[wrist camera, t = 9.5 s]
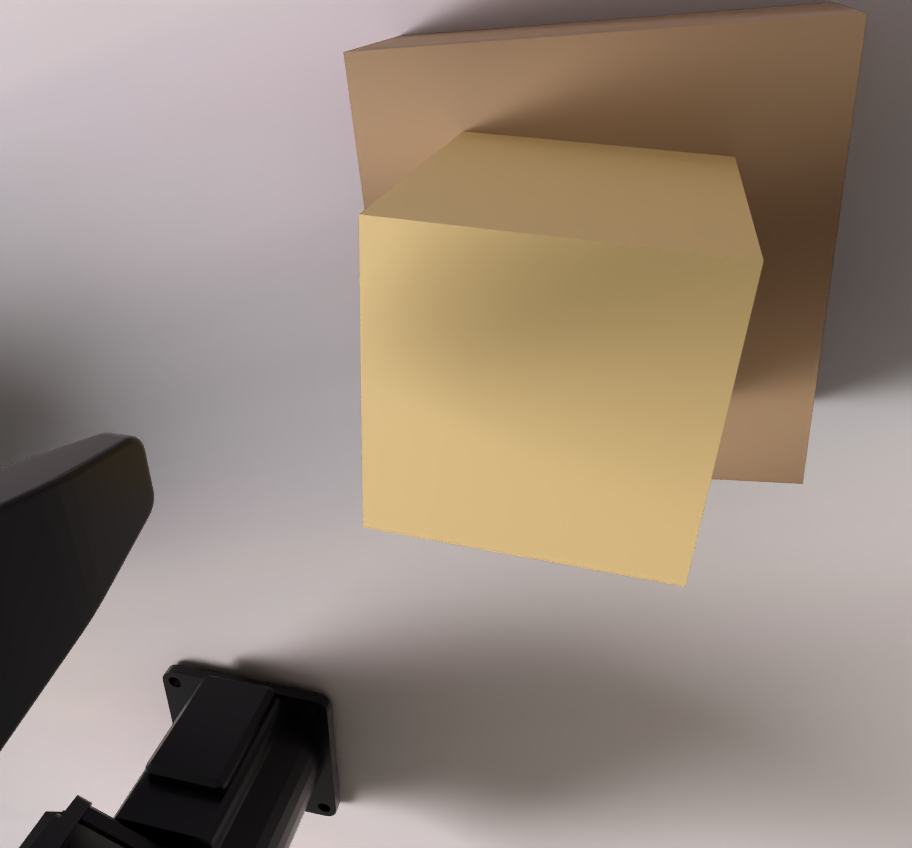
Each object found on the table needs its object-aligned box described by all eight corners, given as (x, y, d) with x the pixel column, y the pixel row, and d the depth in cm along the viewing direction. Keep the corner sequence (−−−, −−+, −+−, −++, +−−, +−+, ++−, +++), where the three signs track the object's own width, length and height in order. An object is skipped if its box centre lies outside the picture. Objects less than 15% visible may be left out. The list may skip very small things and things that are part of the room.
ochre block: (683, 402, 17) (685, 587, 12) (451, 368, 18) (363, 527, 13) (734, 156, 15) (762, 260, 10) (462, 130, 16) (358, 214, 11)
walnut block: (782, 398, 21) (802, 483, 18) (440, 388, 23) (399, 462, 20) (829, 1, 17) (866, 13, 13) (403, 34, 19) (343, 52, 16)
